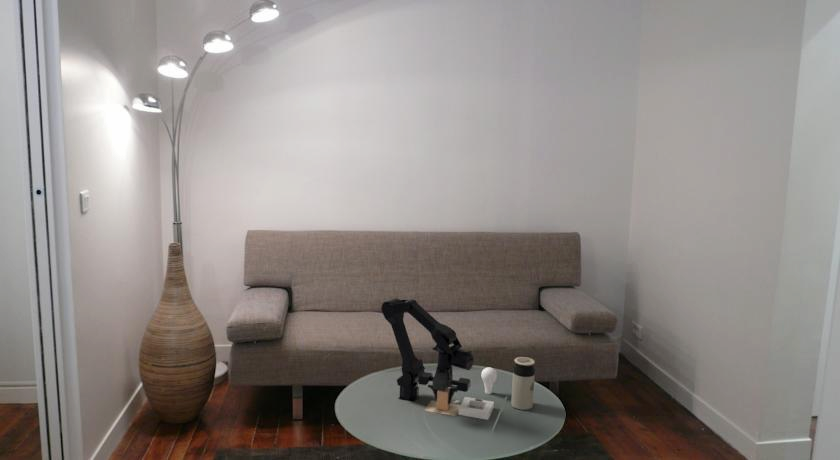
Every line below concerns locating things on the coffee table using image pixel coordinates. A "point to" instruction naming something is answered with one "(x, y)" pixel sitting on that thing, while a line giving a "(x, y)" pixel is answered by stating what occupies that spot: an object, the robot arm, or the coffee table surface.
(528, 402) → the travel mug
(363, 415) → the coffee table surface
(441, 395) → the plug
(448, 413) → the tray slab
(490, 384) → the lightbulb
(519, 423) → the coffee table surface
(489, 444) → the coffee table surface
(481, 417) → the socket block
